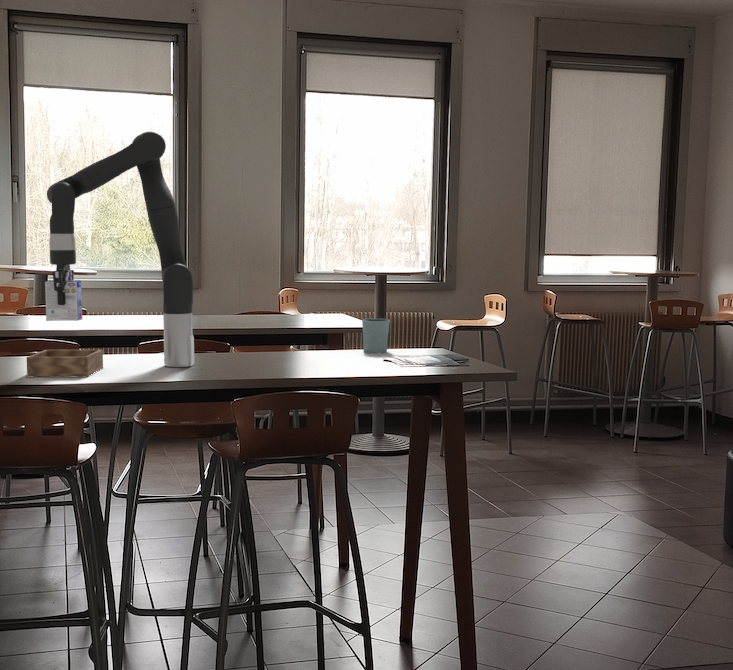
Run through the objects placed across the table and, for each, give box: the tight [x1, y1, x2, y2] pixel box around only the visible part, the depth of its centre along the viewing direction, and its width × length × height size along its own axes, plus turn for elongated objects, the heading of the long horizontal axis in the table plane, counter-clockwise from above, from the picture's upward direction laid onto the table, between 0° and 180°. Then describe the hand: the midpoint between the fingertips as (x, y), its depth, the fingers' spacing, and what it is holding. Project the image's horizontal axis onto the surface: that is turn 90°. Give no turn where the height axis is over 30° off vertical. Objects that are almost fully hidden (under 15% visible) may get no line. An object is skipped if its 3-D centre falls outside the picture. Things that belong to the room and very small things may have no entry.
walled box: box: [26, 349, 104, 377], centre depth 282 cm, size 18×18×6 cm
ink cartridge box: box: [44, 275, 83, 322], centre depth 280 cm, size 10×6×14 cm, turn 93°
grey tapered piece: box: [361, 317, 391, 354], centre depth 335 cm, size 10×10×12 cm
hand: (64, 304), depth 280 cm, fingers closed on ink cartridge box, 5 cm apart
